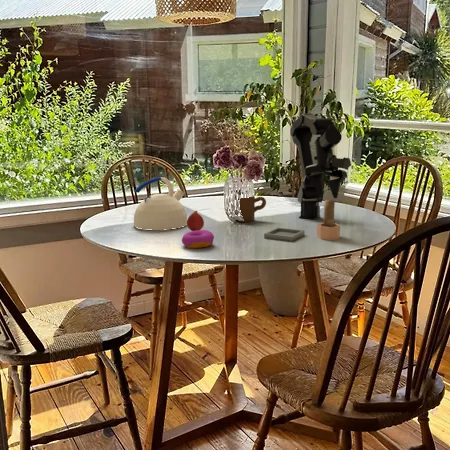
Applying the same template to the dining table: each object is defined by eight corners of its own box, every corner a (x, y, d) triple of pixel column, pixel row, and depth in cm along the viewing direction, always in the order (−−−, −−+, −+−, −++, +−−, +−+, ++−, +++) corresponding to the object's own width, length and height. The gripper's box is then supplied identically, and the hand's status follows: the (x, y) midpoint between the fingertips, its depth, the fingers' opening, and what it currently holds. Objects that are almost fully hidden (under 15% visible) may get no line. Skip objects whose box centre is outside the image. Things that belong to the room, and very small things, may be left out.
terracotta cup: (314, 239, 171) (315, 226, 170) (322, 235, 177) (322, 222, 176) (334, 242, 168) (335, 228, 167) (341, 237, 174) (342, 224, 173)
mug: (265, 218, 205) (265, 194, 203) (266, 222, 198) (266, 197, 196) (234, 218, 205) (234, 194, 203) (234, 222, 198) (234, 198, 196)
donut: (186, 241, 172) (186, 227, 171) (217, 242, 171) (216, 228, 170) (179, 249, 162) (178, 235, 161) (211, 250, 161) (211, 236, 160)
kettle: (199, 225, 195) (198, 176, 191) (151, 234, 182) (148, 182, 178) (169, 217, 210) (167, 172, 206) (123, 224, 198) (120, 177, 194)
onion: (191, 235, 179) (190, 212, 177) (184, 232, 184) (184, 209, 182) (206, 233, 181) (206, 211, 180) (199, 230, 186) (199, 208, 185)
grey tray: (264, 239, 172) (264, 233, 172) (277, 233, 181) (277, 227, 180) (292, 243, 167) (292, 237, 167) (304, 236, 176) (304, 230, 175)
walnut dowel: (322, 237, 172) (323, 201, 169) (325, 235, 174) (326, 199, 172) (331, 238, 170) (332, 202, 168) (334, 236, 173) (335, 200, 170)
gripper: (330, 143, 172) (334, 189, 170) (358, 152, 185) (362, 195, 183) (301, 151, 179) (305, 196, 177) (331, 159, 193) (335, 200, 191)
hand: (328, 197), depth 182 cm, fingers open, 9 cm apart
